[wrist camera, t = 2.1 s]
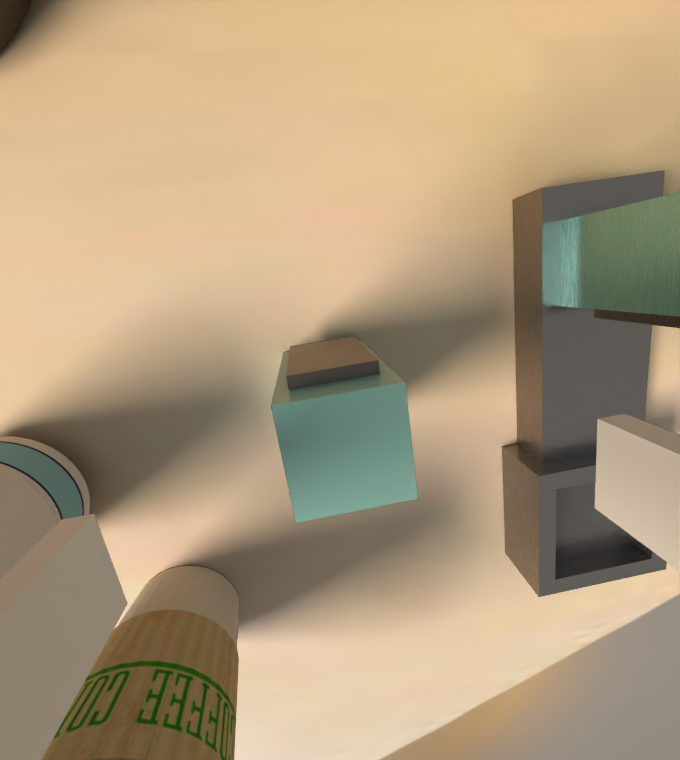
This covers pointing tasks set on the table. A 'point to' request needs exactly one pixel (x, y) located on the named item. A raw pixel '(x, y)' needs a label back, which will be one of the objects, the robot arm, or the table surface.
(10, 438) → the beverage can
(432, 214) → the table surface
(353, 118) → the table surface
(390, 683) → the table surface
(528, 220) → the grey and teal stand
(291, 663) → the table surface
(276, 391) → the block
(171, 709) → the coffee cup
